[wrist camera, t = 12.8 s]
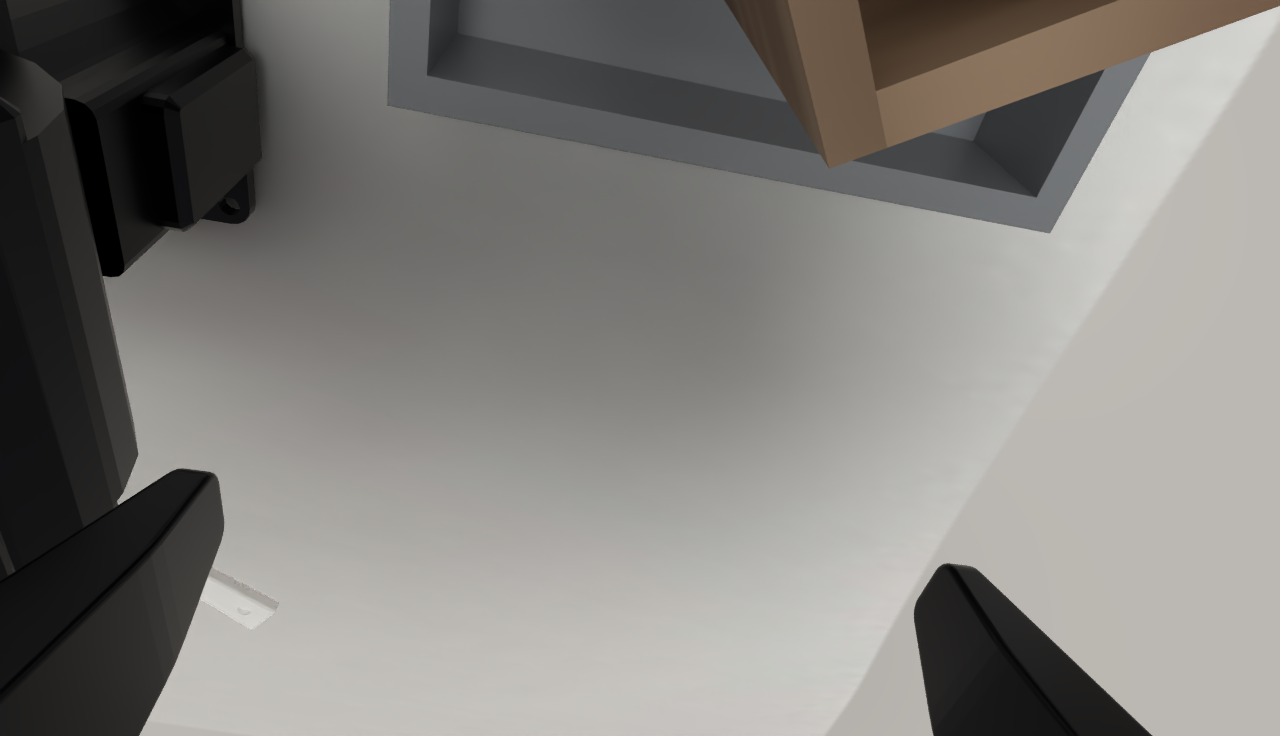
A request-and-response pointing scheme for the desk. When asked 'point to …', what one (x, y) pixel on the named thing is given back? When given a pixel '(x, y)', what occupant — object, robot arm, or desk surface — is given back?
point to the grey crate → (727, 103)
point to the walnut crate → (949, 56)
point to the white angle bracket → (237, 599)
